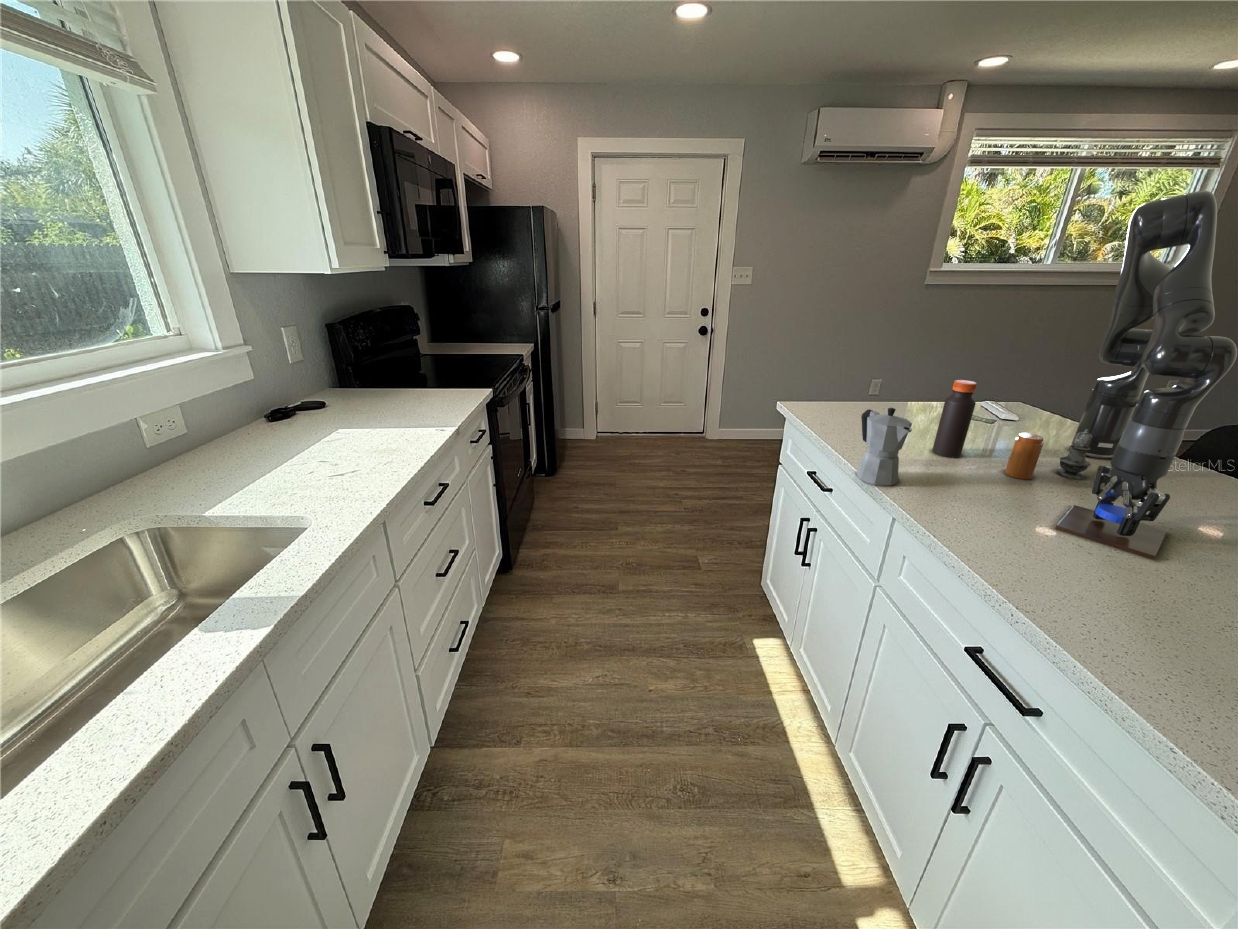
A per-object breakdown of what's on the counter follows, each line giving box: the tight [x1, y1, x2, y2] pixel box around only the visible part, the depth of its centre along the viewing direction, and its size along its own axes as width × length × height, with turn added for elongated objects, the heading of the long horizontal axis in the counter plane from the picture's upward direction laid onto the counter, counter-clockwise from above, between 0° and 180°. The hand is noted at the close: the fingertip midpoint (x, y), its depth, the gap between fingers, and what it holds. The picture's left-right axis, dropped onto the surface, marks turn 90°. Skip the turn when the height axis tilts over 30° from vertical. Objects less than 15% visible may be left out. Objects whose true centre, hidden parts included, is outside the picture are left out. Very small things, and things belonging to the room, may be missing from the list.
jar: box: [1004, 432, 1045, 480], centre depth 120 cm, size 5×5×10 cm
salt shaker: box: [1055, 429, 1093, 480], centre depth 120 cm, size 6×6×12 cm
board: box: [1054, 504, 1167, 560], centre depth 97 cm, size 14×14×1 cm
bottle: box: [932, 379, 978, 458], centre depth 132 cm, size 7×7×20 cm
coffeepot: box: [855, 407, 913, 487], centre depth 118 cm, size 15×9×18 cm, turn 13°
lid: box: [1094, 504, 1136, 524], centre depth 95 cm, size 6×6×2 cm
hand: (1111, 526), depth 96 cm, fingers closed on lid, 5 cm apart
